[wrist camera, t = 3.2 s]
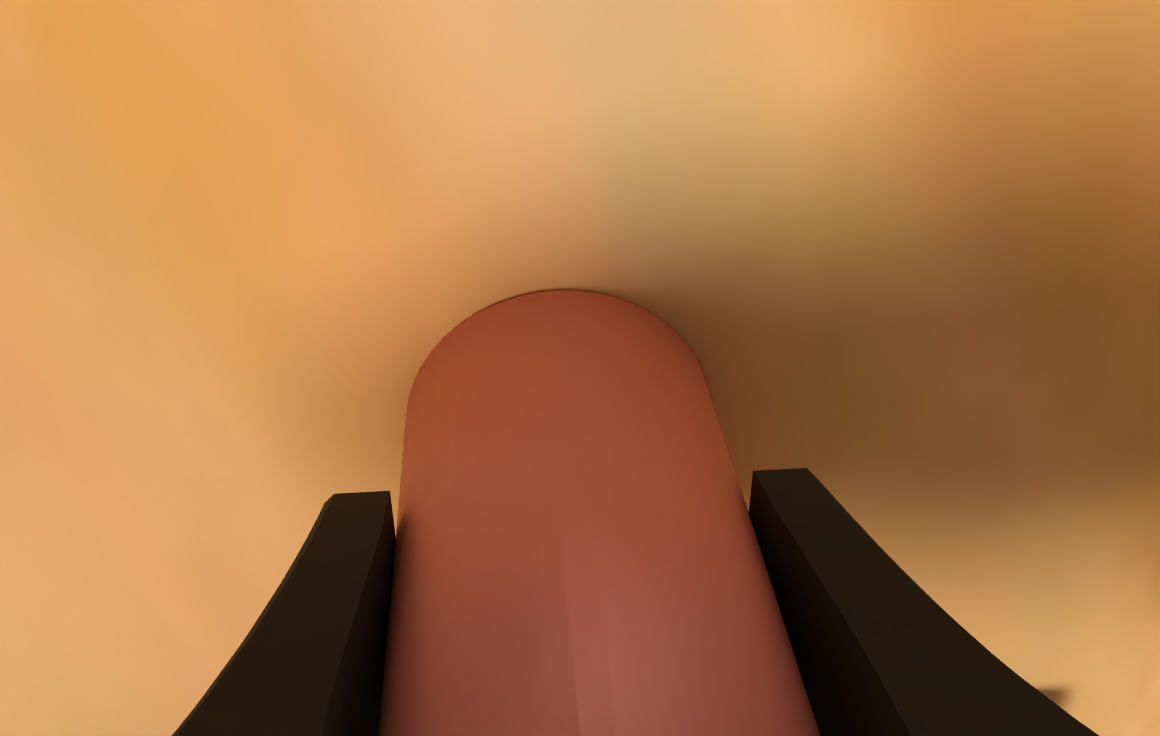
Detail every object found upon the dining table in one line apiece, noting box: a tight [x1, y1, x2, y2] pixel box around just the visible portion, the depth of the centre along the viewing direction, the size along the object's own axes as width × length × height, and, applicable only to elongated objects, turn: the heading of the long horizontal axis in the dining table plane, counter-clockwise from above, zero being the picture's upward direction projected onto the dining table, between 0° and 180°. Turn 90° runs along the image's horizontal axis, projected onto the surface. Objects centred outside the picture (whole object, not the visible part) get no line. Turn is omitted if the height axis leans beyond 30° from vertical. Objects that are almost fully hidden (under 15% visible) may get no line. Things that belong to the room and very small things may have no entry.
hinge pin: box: [378, 291, 821, 736], centre depth 11 cm, size 4×4×8 cm
